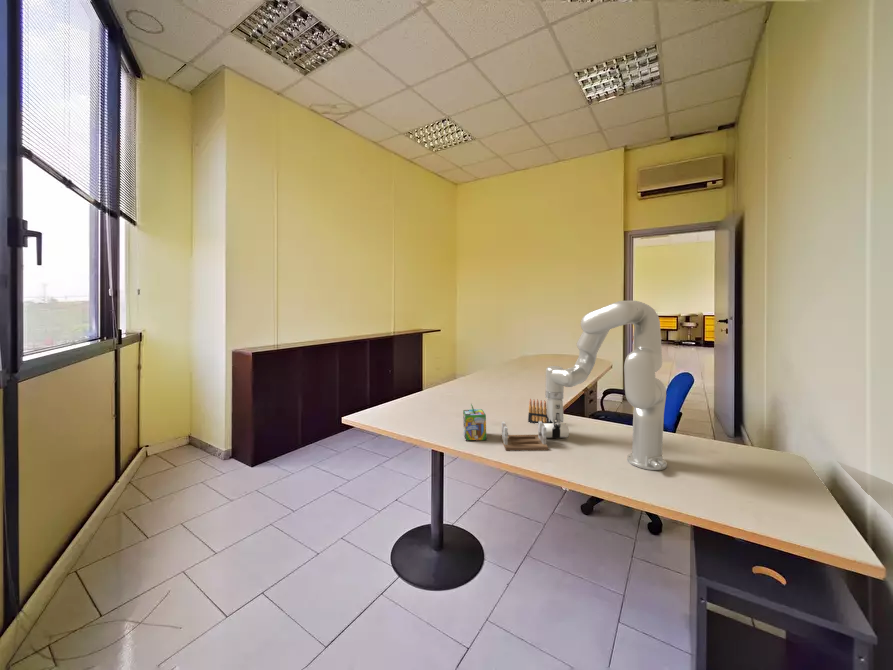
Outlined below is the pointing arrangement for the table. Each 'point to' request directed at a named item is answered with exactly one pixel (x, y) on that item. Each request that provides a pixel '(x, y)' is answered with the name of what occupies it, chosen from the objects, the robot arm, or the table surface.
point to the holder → (524, 439)
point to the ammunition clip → (537, 412)
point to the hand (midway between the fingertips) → (553, 434)
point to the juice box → (474, 424)
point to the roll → (563, 430)
